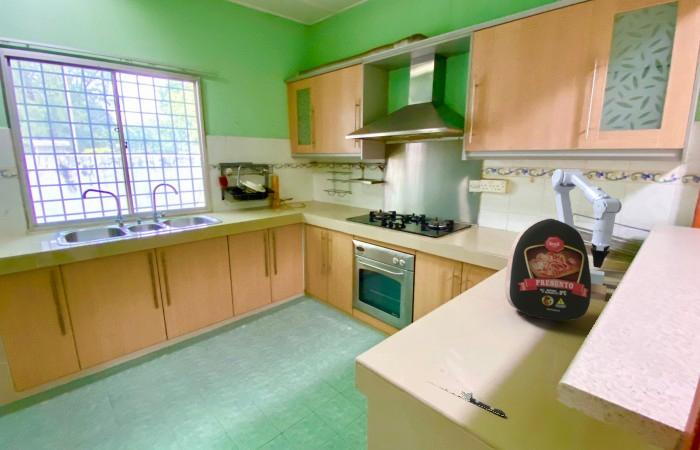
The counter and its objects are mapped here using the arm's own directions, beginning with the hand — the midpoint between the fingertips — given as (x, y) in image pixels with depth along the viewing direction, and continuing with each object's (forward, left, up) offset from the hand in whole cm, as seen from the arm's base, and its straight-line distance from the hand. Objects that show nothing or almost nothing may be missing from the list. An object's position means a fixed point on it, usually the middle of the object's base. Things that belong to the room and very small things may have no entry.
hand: (597, 264), depth 122 cm
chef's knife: (-20, -90, -9) cm, 93 cm away
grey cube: (0, 0, -8) cm, 8 cm away
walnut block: (-1, -12, -8) cm, 15 cm away
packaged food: (-12, -40, -8) cm, 43 cm away
